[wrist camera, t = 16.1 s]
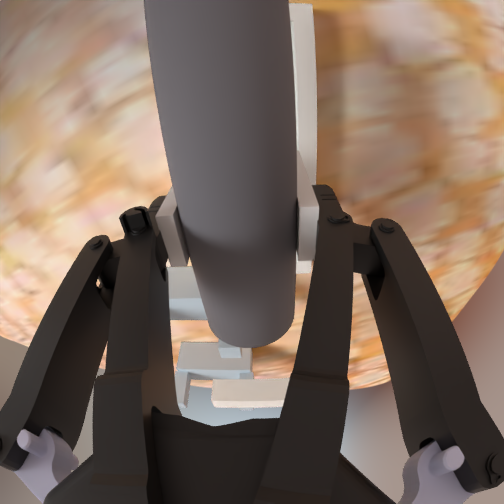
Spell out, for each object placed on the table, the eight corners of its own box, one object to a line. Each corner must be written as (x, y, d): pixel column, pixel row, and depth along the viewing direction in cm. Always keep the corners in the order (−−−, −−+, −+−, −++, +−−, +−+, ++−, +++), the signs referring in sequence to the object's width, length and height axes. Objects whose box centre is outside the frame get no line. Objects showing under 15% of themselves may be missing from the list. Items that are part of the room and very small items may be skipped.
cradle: (145, 268, 27) (119, 338, 20) (242, 264, 26) (238, 342, 20) (184, 353, 37) (176, 408, 30) (254, 353, 36) (254, 411, 30)
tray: (158, 23, 13) (150, 20, 12) (307, 7, 13) (312, 3, 11) (203, 265, 26) (201, 278, 25) (308, 260, 26) (310, 272, 25)
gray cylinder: (165, 12, 9) (120, -10, 5) (279, -2, 8) (296, -37, 4) (211, 284, 18) (203, 349, 14) (289, 279, 18) (298, 344, 14)
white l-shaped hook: (212, 377, 22) (208, 417, 19) (338, 371, 21) (344, 411, 18) (217, 388, 23) (214, 425, 20) (333, 383, 22) (338, 419, 20)
